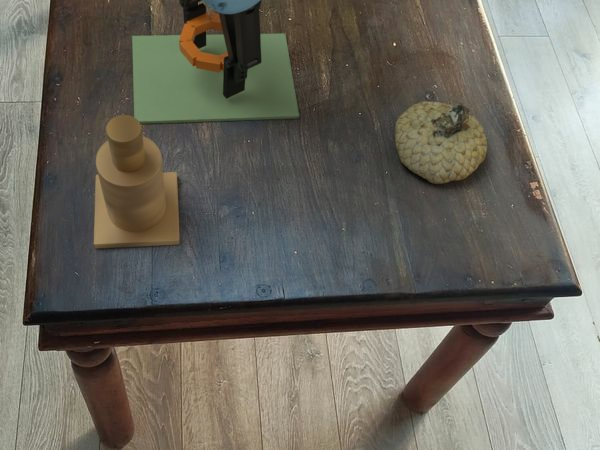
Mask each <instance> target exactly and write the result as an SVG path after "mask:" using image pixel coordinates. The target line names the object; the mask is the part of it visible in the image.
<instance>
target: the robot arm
mask: <svg viewBox="0 0 600 450" xmlns="http://www.w3.org/2000/svg"><path fill="white" fill-rule="evenodd" d="M178 2H179V5H180V7H181V8H182V15H183V25H184V24H185V23H186V24H187V21H189V20H191V19H194V18H196V17H198V16H201V15H203V14H205V13H207V6H208V7H209V8H210V9H212V10H214V11H215V12H217V13H218V14H219V17H220V21H221V26H222V30H223V31H222V34H223V35H224V39H225V44H226V48H227V53H228V56H226V57H224V61H223V62H224V75H223V95H224V97H225V98H226V99H227V98H229V97H231V96H233V95H236V94H238V93H240V92H242V91H244V90H245V79H246V78H247V72H248V69H250V68H252V67H254V66H256V65H258V64H260V63H261V37H260V34H261V16H260V15H261V14H260V13H261V12H260V7H261V4H262V0H178ZM200 2H201V3H200ZM206 5H207V6H206ZM206 35H207V31H205V32H203V33H200V34H198V35H196V36H195V39H194V42H193V43H194V44H195V45H196V47H197V48H198V49H200V48H202V47H204V46H206Z"/></svg>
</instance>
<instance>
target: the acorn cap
mask: <svg viewBox="0 0 600 450" xmlns="http://www.w3.org/2000/svg"><path fill="white" fill-rule="evenodd" d="M470 112H471V110H470V108H468V107H467V106H466V105H465V104H463V102H458V103H456V104H454V105H451V104H449V103H444V102H439V101H432V100H431V101H430V100H429V101H426V100H422V101H420V102H418V103H413V104H412V105H411V106H410V107H408V108H407V109H406V110H405V111H404V112H402V113H401V114H400V115H399V116H398V118H397V119H396V122H395V124H394V137H395V138H394V144H395V149H396V151H397V153H398V154H397V155H398V158H399V160H400V162H401V163H402V164H403V165H404V167H406V168H407V169H408V170H409V171H410V172H412V173H414V174H416V175H417V176H419V177H421V178H422V179H425V180H426V181H428V182H429V183H430V184H435V185H437V184H447V183H449V182H452V181H460V180H461V181H462V180H464V179H466V178H467V177H468V176H470V175H471V174H472V173H473V172H475V171H476V170H477V168H478V167H479V166H480V164H481V163H483V162H484V160H485V159H486V156H487V153H488V151H487V149H488V142H487V137H486V135H485V130H484V127H483V126H482V124H481V123H480V121H479V120H478V119H477V118H476V117H475V116H473V115H472V114H470Z"/></svg>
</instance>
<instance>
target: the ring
mask: <svg viewBox="0 0 600 450" xmlns="http://www.w3.org/2000/svg"><path fill="white" fill-rule="evenodd" d="M209 30H214V31H218V32H223V30H222V26H221V21H220V17H219V13H215V12H209V13H208V12H206V13H205V14H203V15H201V16H198V17H196V18H194V19H191V20H189V21H187V24H186V23H185V24H184V23H183V27H182V30H181V33H180V35H181V36H180V39H179V47H180V51H181V53H182V54H183V55H184V56H185V57H186V59H187V60H188V61H189V62H190V63H191V65H192V66H196V68H198V69H203V70H208V71H214V72H219V73H220V71H221V70H222V71H223V72H224V62H223V61H224V57H226V56H228V53H224V54H222V55H220V56H219V55H214V54H209V53H203V52H201V51H200V50H199V49H198V48H197V47H196V45H195V44H194V43H193V42H194V39H195V36H196V35H198V34H200V33H203V32H205V31H206V32H208V31H209Z"/></svg>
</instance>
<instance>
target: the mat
mask: <svg viewBox="0 0 600 450" xmlns="http://www.w3.org/2000/svg"><path fill="white" fill-rule="evenodd" d="M180 36H181V34H164V35H132V36H131V41H132V42H131V43H132V44H131V47H132V82H133V83H132V84H133V87H132V88H133V89H132V90H133V117H134V118H136V119H137V120H138V121H139V122H140V124H141V125H147V124H148V125H150V124H174V123H175V124H177V123H178V124H179V123H205V122H231V121H233V122H235V121H260V120H287V119H288V120H289V119H299V118H300V112H299V106H298V101H297V95H296V89H295V88H296V87H295V83H294V77H293V76H294V75H293V72H292V66H291V65H292V64H291V59H290V54H289V48H288V41H287V35H286V33H260V37H261V63H260V64H258V65H256V66H254V67H252V68H250V69H248V72H247V78H246V79H245V90H244V91H242V92H240V93H238V94H236V95H233V96H231V97H229V98H227V99H226V98H225V97H224V95H223V75H224V72H223V71H222V70H221V71H220V73H219V72H214V71H208V70H203V69H198V68H196V66H192V65H191V63H190V62H189V61H188V60H187V59H186V57H185V56H184V55H183V54H182V53H181V51H180V47H179V39H180ZM199 50H200V51H201V52H203V53H209V54H214V55H219V56H220V55H222V54H224V53H227V48H226V44H225V39H224V35H223V33H222V34H221V33H220V34H206V46H204V47H202V48H200V49H199Z"/></svg>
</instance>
